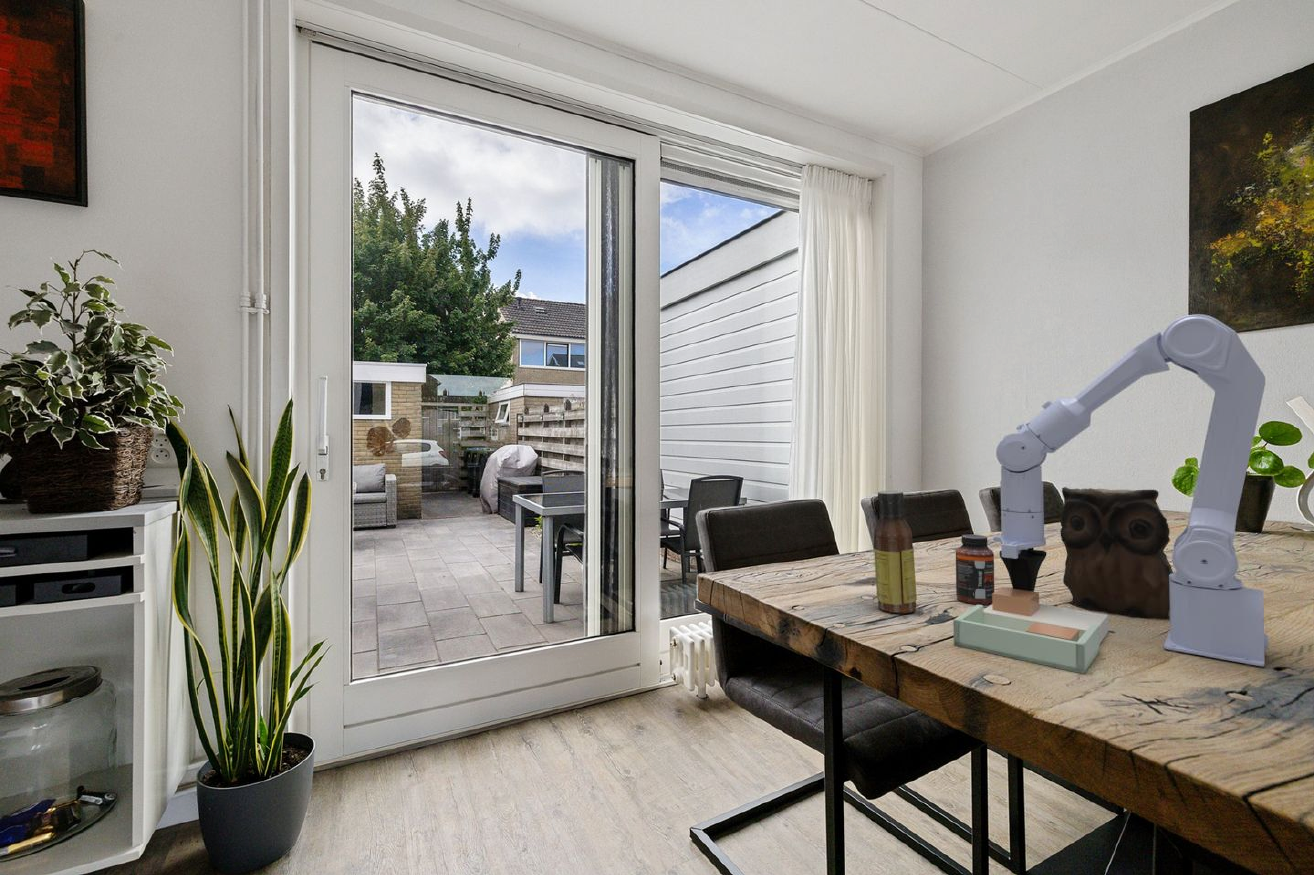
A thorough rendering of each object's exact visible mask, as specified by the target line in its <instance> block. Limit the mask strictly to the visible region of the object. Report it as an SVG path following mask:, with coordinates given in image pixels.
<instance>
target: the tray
mask: <svg viewBox="0 0 1314 875" xmlns="http://www.w3.org/2000/svg"><path fill="white" fill-rule="evenodd" d="M983 610H984V604H975V605H974V606H973V607H971V608H969V609H968V610H966V611H965V612H963V613H962V614H960V615H959V616H957V617H956V618H954V619H953V620H952V621H953V624H952V625H953V645H954V646H956V647H957V646H958V647H961V648H965V649H970V650H975V651H979V652H984V653H989V654H994V655H999V656H1002V657H1007V658H1010V659H1016V660H1020V661H1025V662H1029V663H1033V664H1037V665H1043V666H1048V667H1052V668H1055V669H1056V668H1057V669H1061V670H1065V671H1071V672H1075V673H1078V674H1082V675H1084V674H1085V673H1086V672H1087V670H1088V669H1089V667H1090V666H1091V664H1092V663H1093V662H1094V660H1095V659H1096V657H1097V655H1099V653H1100V644H1099V625H1094V624H1091V626H1090V627H1089V628H1088V629H1087V630H1086V632H1085V633H1084V634H1083V635H1082V636H1081V638H1080V639H1079V640H1078V641H1077V642H1075V641H1070V640H1064V639H1059V638H1054V637H1049V636H1044V635H1038V634H1033V633H1028V632H1023V631H1018V630H1012V629H1007V628H1002V627H997V626H991V625H986V624H983Z"/></svg>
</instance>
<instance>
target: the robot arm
mask: <svg viewBox="0 0 1314 875" xmlns="http://www.w3.org/2000/svg"><path fill="white" fill-rule="evenodd" d="M1168 363H1172V364H1173V365H1175V366H1178V367H1179V368H1182V369H1184V370H1186V371H1188V372H1191V373H1193V374H1195V375H1197V377H1198V378H1199V379H1200V380H1201V381H1202V382H1204V383H1205V384H1206V385H1207V386H1208V387H1209V388H1210V389H1211V390H1213V391H1214V397H1213V402H1212V406H1211V410H1210V416H1209V421H1208V426H1207V429H1206V430H1207V431H1206V435H1205V441H1204V444H1203V450H1202V455H1201V460H1200V464H1199V468H1198V475H1197V478H1196V479H1197V480H1196V484H1195V488H1194V493H1193V498H1192V503H1191V507H1190V511H1189V516H1188V520H1187V525H1186V527H1185V528H1184V531H1182V532H1181V533H1180V534H1179V535H1178V536H1177V537H1176V539H1175V541H1174V544H1173V551H1172V553H1171V562H1172V565H1173V567H1174V569H1175V571H1173V573H1172V574H1170V575H1169V593H1170V612H1169V617H1170V619H1169V624H1170V625H1169V629H1170V630H1169V632H1168V634H1167V636H1166V639H1165V641H1164V643H1163V648H1164V649H1166V650H1169V651H1175V652H1181V653H1185V654H1191V655H1198V656H1203V657H1207V658H1213V659H1219V660H1223V661H1229V662H1230V661H1231V662H1235V663H1239V664H1240V663H1241V664H1246V665H1252V666H1256V667H1265V666H1266V665H1265V662H1266V661H1265V650H1269V634H1265V612H1264V611H1265V608H1264V607H1265V606H1264V604H1265V602H1264V590H1262V589H1257V588H1251V587H1247V586H1243V582H1242V580H1241V579H1239V578H1237V576H1236V575H1237V572H1238V570H1239V559H1238V556H1237V554H1236V550H1235V546H1234V538H1235V535H1236V534H1235V532H1236V525H1237V516H1238V511H1239V508H1240V501H1241V498H1242V494H1243V489H1244V488H1243V487H1244V483H1245V479H1246V475H1247V470H1248V466H1249V460H1250V455H1251V451H1252V447H1253V442H1254V438H1255V432H1256V427H1257V424H1258V419H1259V414H1260V411H1261V404H1262V400H1263V396H1264V392H1265V387H1266V376H1265V374H1264V372H1263V371H1262V370H1261V368H1260V367H1259V365H1258V363H1257V362H1256V360H1254V358H1253V356H1252V355H1251V353H1250V352H1249V351H1248V349H1247V347H1246V346H1245V344H1243V341H1242V340H1241V339H1240V336H1239V335H1238V333H1237V332H1236V331H1235V330H1234V329H1232V328H1230V327H1229V326H1228V325H1226V324H1225V323H1223V322H1222V321H1220V320H1218V319H1217V318H1215V317H1212V316H1211V315H1207V314H1200V313H1199V314H1197V313H1195V314H1189V315H1184V316H1182V317H1179V318H1177V319H1176V320H1174V321H1171V323H1170V324H1168V326H1167V327H1166V328H1165V329H1164V331H1163V333H1162V332H1161V331H1158V332H1156V333H1155V334H1153V335H1151V336H1149V337H1148V338H1146V339H1145V340H1143V341H1142V342H1140V343H1139V344H1138V345H1136V346H1135V347H1133V348H1132V349H1131V350H1129V351H1128V352H1127V353H1126V354H1125V355H1123V356H1122V357H1121V358H1120V359H1119V360H1117V361H1116V362H1115V363H1114V364H1112V365H1111V366H1110V367H1109V368H1108V369H1106V371H1104V372H1103V373H1101V374H1100V376H1098V377H1097V378H1096V379H1095V380H1093V381H1092V382H1091V383H1090V384H1088V385H1087V386H1086V387H1085V388H1084V389H1083V390H1081V391H1080V392H1079V393H1078V394H1077V395H1075V396H1074V397H1058V398H1057V399H1055V400H1054V401H1052V400H1047V401H1046V402H1045V403H1043V404H1042V405H1041V407H1042V408H1043V410H1041V411H1040V412H1039V413H1038V414H1036V415H1035V416H1034V417H1032V418H1031V419H1030V420H1029V421H1027V423H1025V424H1023V423H1020V424H1019V425H1017V426H1016V427H1015V428H1016V431H1018V432H1015V433H1008V434H1006V435H1005V436H1004V437H1003V439H1002V440H1001V441H1000V442H999V443H998V445H997V447H996V453H995V455H996V458H997V461H998V463H999V464H1000V465H1001V466H1000V475H1001V476H1000V477H1001V479H1000V481H999V482H1000V515H1001V518H1000V519H1001V521H1000V523H1001V524H1000V525H1001V526H1000V527H1001V529H1000V530H1001V535H1000V534H995V535H994V536H993V538H992V539H993V540H992V541H993V542H994V541H995V542H999V543H1001V546H1000V547H1001V548H1000V549H1001V550H1000V551H999V552H998V553H999V557H1000V559H1001V561H1002V562H1003V564H1004V566H1005V568H1006V570H1007V572H1008V575H1009V579H1010V583H1011V586H1012V589H1018V590H1025V591H1032V592H1035V589H1036V588H1035V587H1036V584H1037V579H1038V574H1039V571H1040V569H1041V566H1042V564H1043V562H1044V560H1045V559H1046V556H1047V551H1045V550H1038V549H1034V548H1040V547H1045V546H1046V543H1047V540H1046V539H1045V516H1044V512H1045V511H1044V482H1043V478H1042V476H1043V475H1042V471H1043V470H1042V465H1043V463H1044V462H1045V460H1046V459H1047V455H1048V453H1049V454H1054V453H1055V452H1057V451H1058V450H1059V449H1060V448H1062V447H1063V446H1065V445H1066V444H1067V443H1069V442H1070V441H1071V440H1074V438H1075V437H1077V436H1078V435H1079V434H1081V433H1082V432H1083V431H1085V430H1086V429H1088V428H1089V427H1091V421H1092V420H1091V416H1092V413H1093V412H1094V411H1096V410H1097V409H1099V408H1100V407H1102V406H1103V405H1104V404H1106V403H1107V402H1108V401H1110V400H1111V399H1112V398H1114V397H1115V396H1118V395H1119V394H1120V393H1121V392H1123V391H1124V390H1125V389H1127V388H1129V387H1130V386H1131V385H1132V384H1134V383H1136V382H1137V381H1138V380H1140V379H1141V378H1143V377H1144V376H1149V375H1153V374H1158V373H1163V372H1168V371H1170V370H1171V369H1170V367H1169V364H1168Z"/></svg>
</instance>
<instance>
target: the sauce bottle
mask: <svg viewBox="0 0 1314 875" xmlns="http://www.w3.org/2000/svg"><path fill="white" fill-rule="evenodd" d="M904 495H905V494H904V492H903V491H901V490H881V491H878V492H877V501H878V502H879V503H878V504H879V514H878V515H879V519H878V521H877V524H876V526H875V528H874V530H873V534H874V535H873V549H874V550H873V553H874V572H875V584H876V588H875V589H876V599H877V602H878V603H877V604H878V608H879V609H880V610H882V611H884V612H886V613H891V614H899V615H900V614H901V615H902V614H911V613H914V612H915V611H916V610H917V599H918V598H917V597H918V596H917V581H916V569H915V568H916V567H915V566H916V565H915V564H916V563H915V550H914V548H915V547H914V545H913V535H912V534H913V533H912V528H911V527H910V525H909V524H908V522H907V521H906V518H905V514H904V503H903V502H904V500H905V497H904Z"/></svg>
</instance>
